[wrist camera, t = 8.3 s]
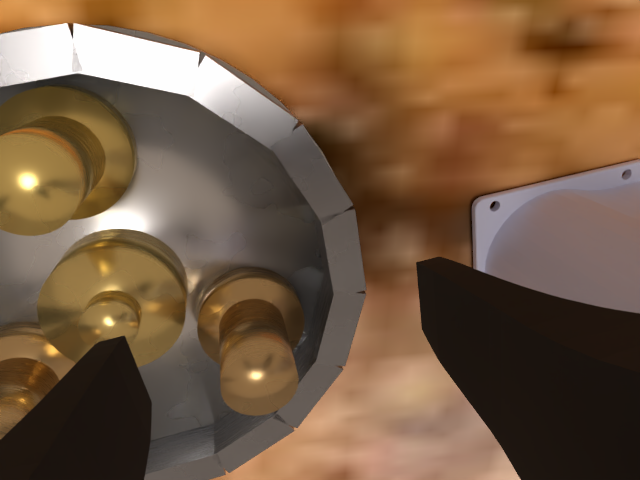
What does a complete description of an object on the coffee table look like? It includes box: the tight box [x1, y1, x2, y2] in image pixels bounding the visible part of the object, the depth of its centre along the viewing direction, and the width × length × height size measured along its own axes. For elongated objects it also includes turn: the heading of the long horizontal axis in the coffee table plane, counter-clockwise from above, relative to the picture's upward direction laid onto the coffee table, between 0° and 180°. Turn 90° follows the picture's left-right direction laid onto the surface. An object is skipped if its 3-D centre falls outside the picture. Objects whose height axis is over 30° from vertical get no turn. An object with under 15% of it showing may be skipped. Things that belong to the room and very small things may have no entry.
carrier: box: [0, 23, 366, 480], centre depth 18 cm, size 20×20×6 cm
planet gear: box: [0, 84, 137, 236], centre depth 15 cm, size 5×5×5 cm
